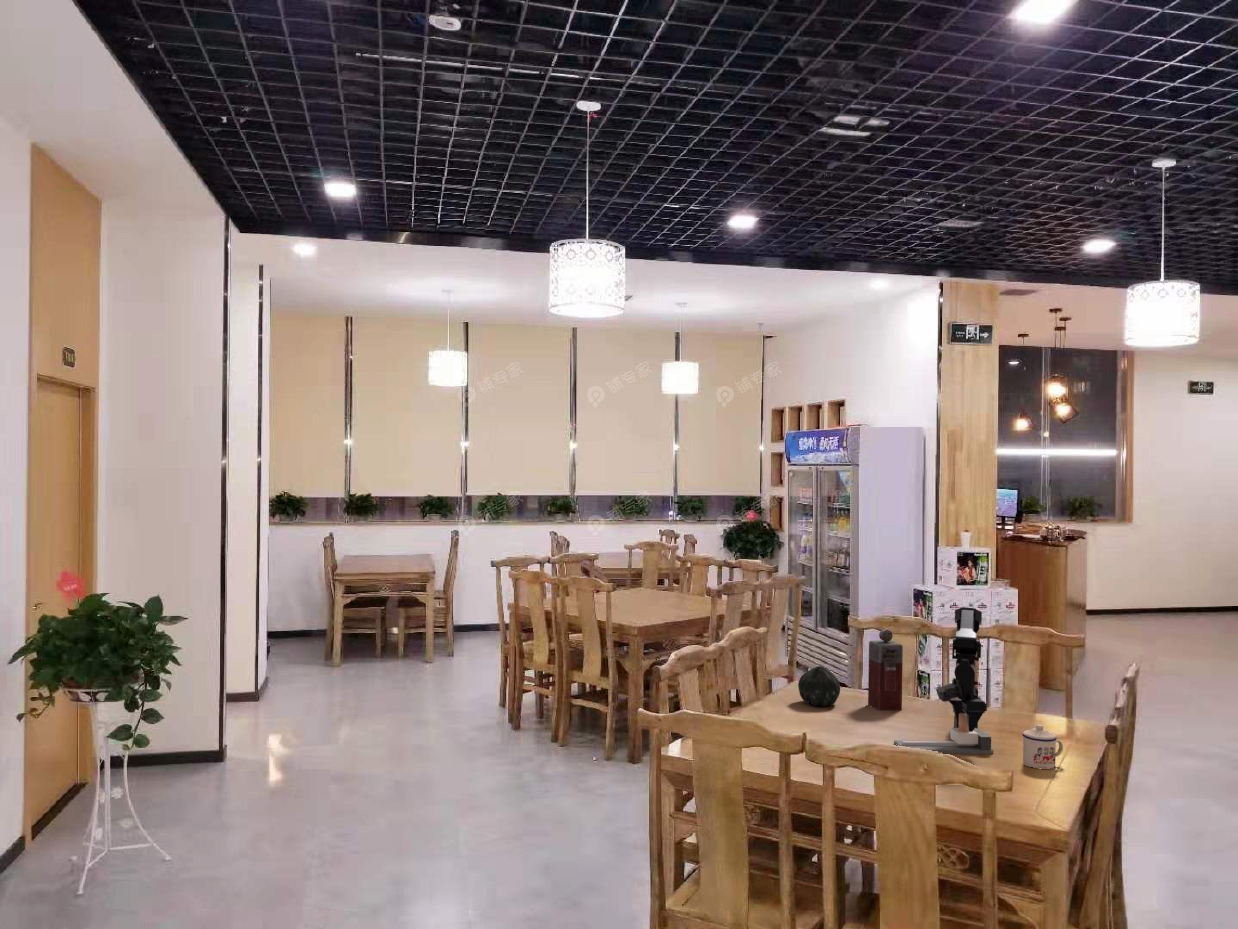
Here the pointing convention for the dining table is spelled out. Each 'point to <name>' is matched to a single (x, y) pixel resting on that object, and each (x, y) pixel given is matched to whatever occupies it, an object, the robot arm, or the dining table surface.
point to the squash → (819, 687)
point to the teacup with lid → (1040, 748)
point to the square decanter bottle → (885, 673)
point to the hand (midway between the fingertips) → (964, 727)
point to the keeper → (963, 732)
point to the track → (952, 745)
